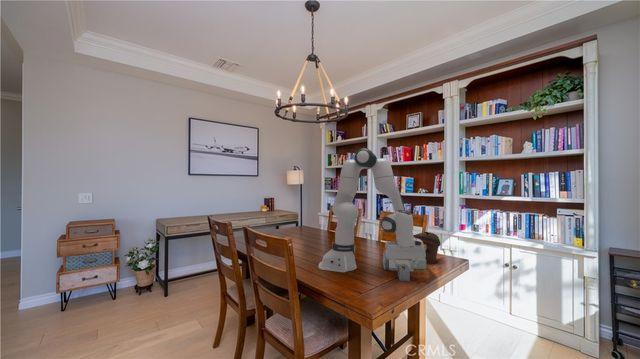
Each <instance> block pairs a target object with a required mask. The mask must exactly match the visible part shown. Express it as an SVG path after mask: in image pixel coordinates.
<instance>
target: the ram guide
mask: <svg viewBox="0 0 640 359" xmlns="http://www.w3.org/2000/svg"><path fill="white" fill-rule="evenodd" d="M409 261H410V263H411V265H412V267H413V263H415V261H416V260H415V259H409ZM413 269H414V270H427V263H426V260H425V259H419V262H418V263H417V267H413Z"/></svg>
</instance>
